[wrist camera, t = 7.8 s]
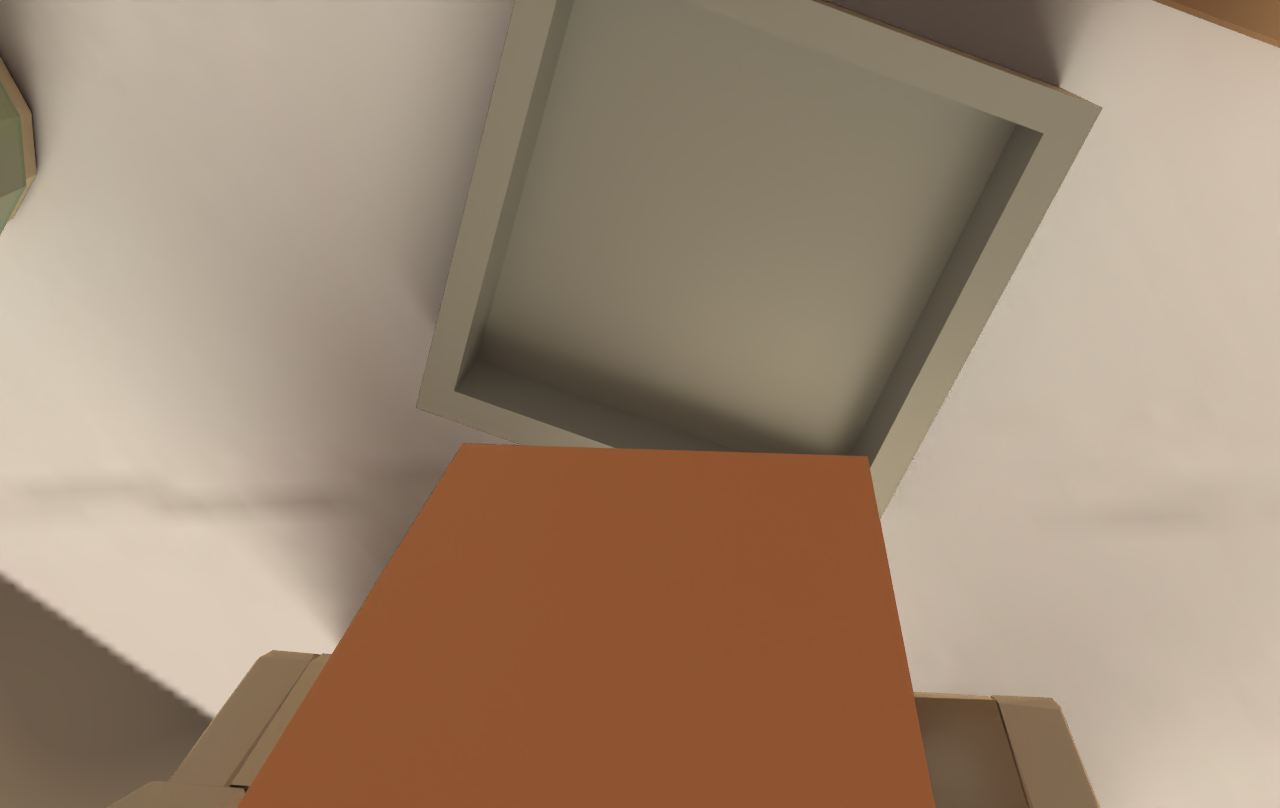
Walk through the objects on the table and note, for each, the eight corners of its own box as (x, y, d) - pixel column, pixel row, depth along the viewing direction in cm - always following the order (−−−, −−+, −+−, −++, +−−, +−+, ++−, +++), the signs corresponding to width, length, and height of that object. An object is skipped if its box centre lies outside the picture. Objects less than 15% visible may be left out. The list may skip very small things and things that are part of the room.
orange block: (867, 456, 9) (962, 951, 5) (841, 764, 11) (893, 1344, 6) (462, 443, 10) (192, 879, 5) (499, 740, 11) (322, 1261, 7)
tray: (1060, 87, 21) (1102, 107, 18) (847, 500, 26) (856, 562, 24) (569, -94, 21) (539, -101, 18) (452, 360, 26) (415, 408, 23)
